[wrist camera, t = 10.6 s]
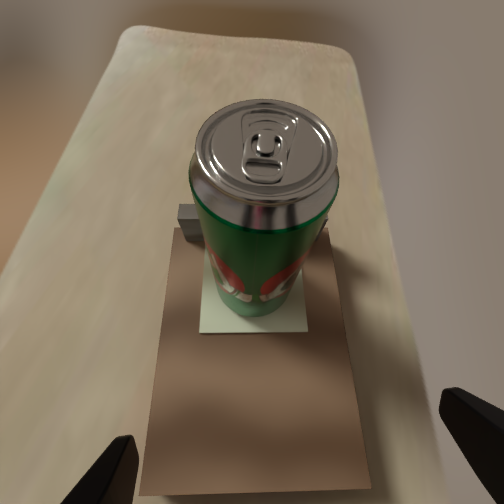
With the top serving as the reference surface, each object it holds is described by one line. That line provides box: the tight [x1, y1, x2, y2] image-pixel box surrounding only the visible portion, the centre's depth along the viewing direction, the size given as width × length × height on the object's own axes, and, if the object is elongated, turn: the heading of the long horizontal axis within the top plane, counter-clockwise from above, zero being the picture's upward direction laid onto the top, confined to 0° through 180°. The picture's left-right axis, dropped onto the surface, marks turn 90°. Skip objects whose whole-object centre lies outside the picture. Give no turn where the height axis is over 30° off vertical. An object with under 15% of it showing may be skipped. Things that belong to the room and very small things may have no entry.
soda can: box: [189, 99, 339, 317], centre depth 13 cm, size 5×5×12 cm
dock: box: [139, 204, 372, 496], centre depth 17 cm, size 16×12×5 cm
